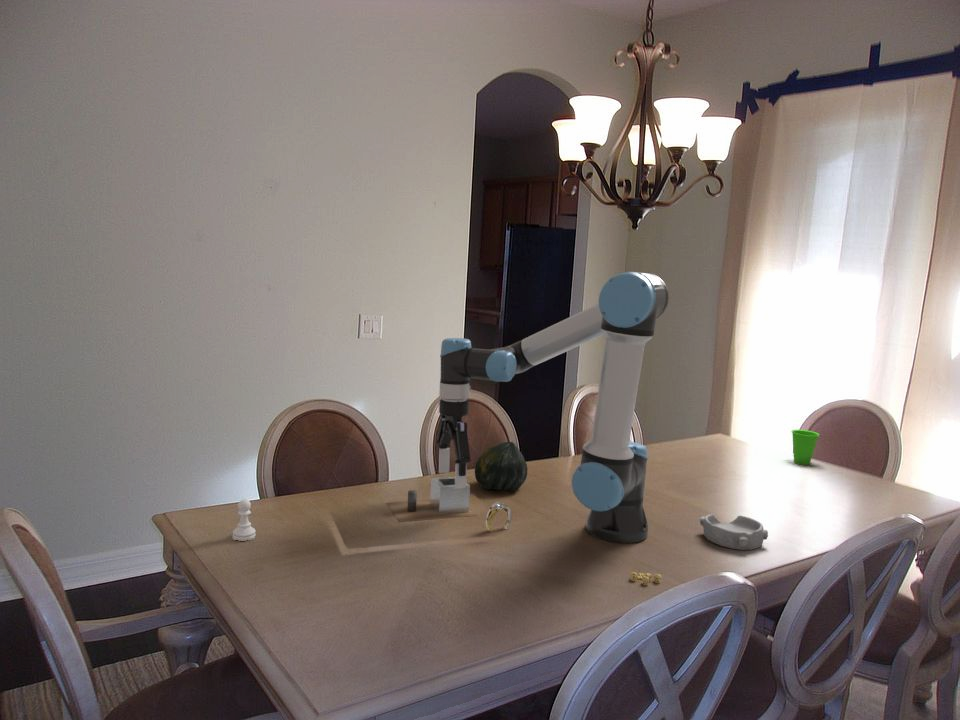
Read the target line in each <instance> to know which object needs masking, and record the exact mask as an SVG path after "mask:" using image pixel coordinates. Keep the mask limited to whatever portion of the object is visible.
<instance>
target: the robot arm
mask: <svg viewBox="0 0 960 720" xmlns="http://www.w3.org/2000/svg"><path fill="white" fill-rule="evenodd" d="M598 296H599V297H598V302H597V303H596V304H594V305H592V306H590V307H588V308H585V309H584V310H582V311H580V312H577V313H575V314H572V315H571V316H569V317H567V318H565V319H563V320H560V321H559V322H557V323H554V324H552V325H550V326H548V327H546V328H544V329H542V330H540V331H537V332H535V333H534V334H531V335H528V337H527V336H526V337H525V338H523V339H522V340H521V339H520V340H519V341H516V342H514V343H512V344H510V345H507V346H504V347H503V346H501V347H496V348H491V349H485V348H476V347H475V348H474V347H472V341H471V340H470V339H469V338H461V337H449V338H445V339H443V340H442V342H441V345H440V346H441V347H440V349H441V350H440V356H439V357H440V381H439V398H440V400H439V402H438V403H439V404H438V405H439V409H438V412H439V414H440V423H439V428H438V433H437V438H436V445H438V450H439V451H438V453H439V454H438V474H448V473H450V465H451V464H450V458H451V447H452V445H451V441H452V442H453V447H454V453H455V457H456V459H455V460H454V464H455V469H454V477H455V488H466V482H467V468H468V467H467V465H468V463H470V462H471V461H472V459H471V455H470V444H469V436H468V423H467V422H463V417H464V416H467V415H469V413H470V412H469V410H470V401H469V400H468V399H469V398H470V390H471V388H472V386H471V385H470V383H471V382H470V380H471V379H476V380H477V379H478V380H483V381H484V380H485V381H490V382H491V381H492V382H493V381H494V382H495V383H498V382H499V383H500V382H504V383H505V382H506V383H508V382H511V381H512V379H513V378H514V377H515V375H518V374H521V373H524V372H526V371H528V370H529V369H531V368H533V367H535V366H537V365H539V364H541V363H544V362H547V361H549V360H551V359H553V358H555V357H557V356H559V355H562V354H564V353H566V352H568V351H570V350H572V349H575V348H577V347H579V346H582V345H584V344H587V343H588V342H591V341H593V340H595V339H598V338H599V337H602V336H605V338H606V339H605V345H604V351H603V357H602V364H601V371H600V379H599V384H598V392H597V395H596V396H597V398H596V403H595V409H594V417H593V423H592V430H591V437H590V440H589V441H587V442H585V443H584V444H583V446H582V452H581V457H580V463H579V464H580V465H579V466H578V467H576V469H575V471H574V473H573V474H572V477H571V489H572V491H573V495H574V496H575V498H576V499H577V500H578V502H579V503H580V504H581V505H582V506H584V507H585V508H587V509H588V510H590V511H589V513H588V516H587V518H586V526H585V529H586V531H587V532H588V533H589V534H590V535H591V536H593V537H595V538H598V539H601V540H604V541H608V542H613V543H623V544H626V543H627V544H629V543H630V544H631V543H637V542H641V541H644V540H645V539H646V538H647V537H648V533H649V524H648V520H647V517H646V516H647V515H646V512H645V508H644V498H645V497H644V494H645V485H646V484H645V483H646V473H647V462H648V460H649V459H648V448H647V447H646V445H644V444H642V443H637V442H633V441H630V439H631V432H632V427H633V422H634V414H635V408H636V401H637V395H638V388H639V383H640V379H641V373H642V372H641V370H642V364H643V358H644V353H645V351H644V350H645V346H646V344H647V342H649V341H650V340H651V339H652V338H654V334H655V330H656V329H655V328H656V324H657V323H656V322H657V319H659V318H660V317H661V316H663V314H664V313H665V311H666V310H667V308H668V306H669V300H670V293H669V289H668V287H667V285H666V283H665V281H664V280H663V279H661V278H660V277H659V276H658V275H656V274H654V273H650V272H644V271H643V272H641V271H640V272H638V271H637V272H636V271H624V272H622V273H618V274H616V275H613V276H612V277H611V278H609V279H608V280H607V281H606V282H605V283H604V285H603V286H602V288H601V290H600V292H599V295H598Z"/></svg>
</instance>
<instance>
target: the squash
mask: <svg viewBox="0 0 960 720" xmlns="http://www.w3.org/2000/svg"><path fill="white" fill-rule="evenodd" d="M474 477H475V480H476V482H477V483H478V485H479V486H481V487H483V488H485V489H487V490H488V491H490V490H491V491H492V490H494V489H495V490H496V491H500V490H503V491H508V492H515V491H518V490H519V489H520V488H521V486H522V485H523V484H524V483H525V481H526V479H527V477H528V465H527V462H526V460H525V456H524V455H523V454H522V451H520V449H519V448H518V446H517V444H516V443H515V442H513V441H506V442H505V441H504V442H501V443H498V444H495V445H493V446H492V447H488V448H487V449H486V450H484V451H483V452H482V453H481V454H480V456H479V457H478V458H477V460H476V462H475V467H474Z"/></svg>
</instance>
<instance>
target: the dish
mask: <svg viewBox="0 0 960 720" xmlns="http://www.w3.org/2000/svg"><path fill="white" fill-rule="evenodd" d="M699 524H700V526H702V529H703V534H704V537H705V538H706V539H707V540H708V541H710V542H712V543H714V544H716V545H718V546H722V547H725V548H730V549H732V550H739V551H749V550H754V549H758V548H760V547H762V545H763V542H764V540H767V539H768V537H769V532H768V530H767V529H764V525H763V524H762V523H761V522H760V521H758V520H756V519H754V518H751V517H749V516H748V517H747V516H743V515H737V517H736V518H735V519H733V520H732V521H730V522H721V521H720V520H719V519H718V518H716V517H715V515H714V514H713V513H710V514H708V515H706V516H700V519H699Z"/></svg>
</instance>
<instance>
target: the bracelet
mask: <svg viewBox="0 0 960 720" xmlns="http://www.w3.org/2000/svg"><path fill="white" fill-rule="evenodd" d="M500 510H503V511H504V513H505V515H506V522H505V524H504V526H502V530H507V529H508V528H509V527H510V524H511V523H512V511H511V509H510V507H509V506H507V505H505V502H504V501H503V502H502V503H500V501H497V502H495V503H493V504H492V505H491V506H490V508H489V509H488V511H487V514H486V517H485V526H486V529H487V530H488V531H489V532H490V533H492V532H494V530H493V529H492V527H491V522H492V520H493V518H494V516H496V515H497V514H498V513H499V512H500Z"/></svg>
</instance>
